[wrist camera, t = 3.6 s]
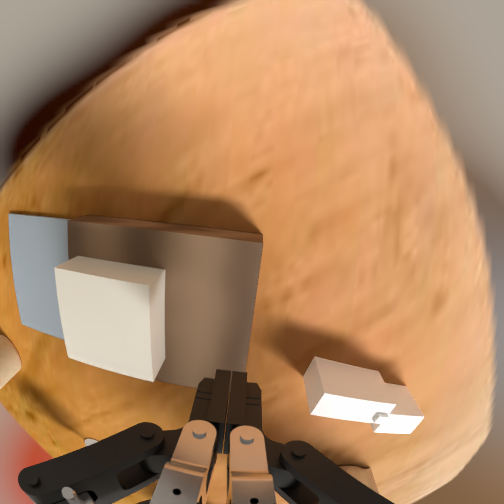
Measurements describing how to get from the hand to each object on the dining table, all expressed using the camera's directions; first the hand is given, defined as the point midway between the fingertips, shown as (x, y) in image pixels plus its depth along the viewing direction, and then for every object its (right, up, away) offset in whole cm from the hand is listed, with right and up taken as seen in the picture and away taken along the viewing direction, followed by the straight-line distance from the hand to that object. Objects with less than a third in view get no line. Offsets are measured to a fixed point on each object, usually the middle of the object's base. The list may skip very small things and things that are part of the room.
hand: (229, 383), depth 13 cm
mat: (-18, +4, +9) cm, 21 cm away
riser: (-6, +3, +9) cm, 11 cm away
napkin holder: (+11, -6, +11) cm, 17 cm away
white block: (-8, +2, +6) cm, 10 cm away
